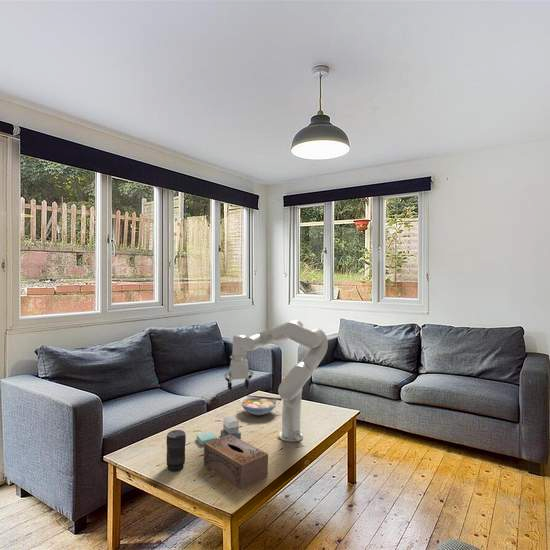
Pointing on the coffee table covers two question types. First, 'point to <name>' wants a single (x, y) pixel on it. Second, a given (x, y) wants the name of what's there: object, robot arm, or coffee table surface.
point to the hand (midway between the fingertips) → (238, 388)
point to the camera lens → (176, 450)
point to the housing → (230, 425)
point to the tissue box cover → (236, 461)
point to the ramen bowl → (259, 404)
